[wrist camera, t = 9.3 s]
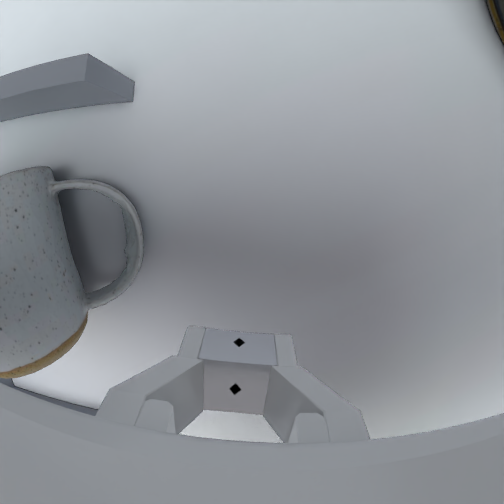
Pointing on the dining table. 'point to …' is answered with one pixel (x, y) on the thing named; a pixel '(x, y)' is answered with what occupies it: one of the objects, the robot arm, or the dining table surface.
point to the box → (57, 98)
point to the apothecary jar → (497, 15)
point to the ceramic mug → (48, 270)
